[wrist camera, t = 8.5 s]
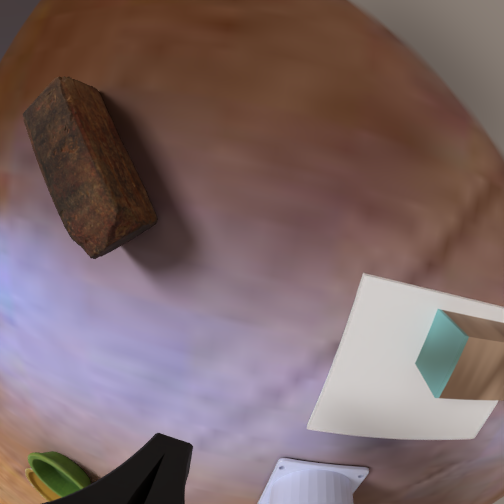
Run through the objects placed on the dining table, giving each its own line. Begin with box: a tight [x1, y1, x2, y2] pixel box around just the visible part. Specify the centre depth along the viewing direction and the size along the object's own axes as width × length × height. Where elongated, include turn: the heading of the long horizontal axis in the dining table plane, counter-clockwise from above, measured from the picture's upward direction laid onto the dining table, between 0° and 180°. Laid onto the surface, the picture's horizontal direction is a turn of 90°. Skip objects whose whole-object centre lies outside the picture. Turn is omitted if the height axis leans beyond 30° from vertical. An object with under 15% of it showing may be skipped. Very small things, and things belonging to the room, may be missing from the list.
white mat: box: [307, 273, 504, 440], centre depth 18 cm, size 12×16×1 cm
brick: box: [23, 76, 157, 259], centre depth 17 cm, size 11×4×5 cm, turn 28°
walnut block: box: [415, 309, 504, 400], centre depth 15 cm, size 4×4×8 cm
